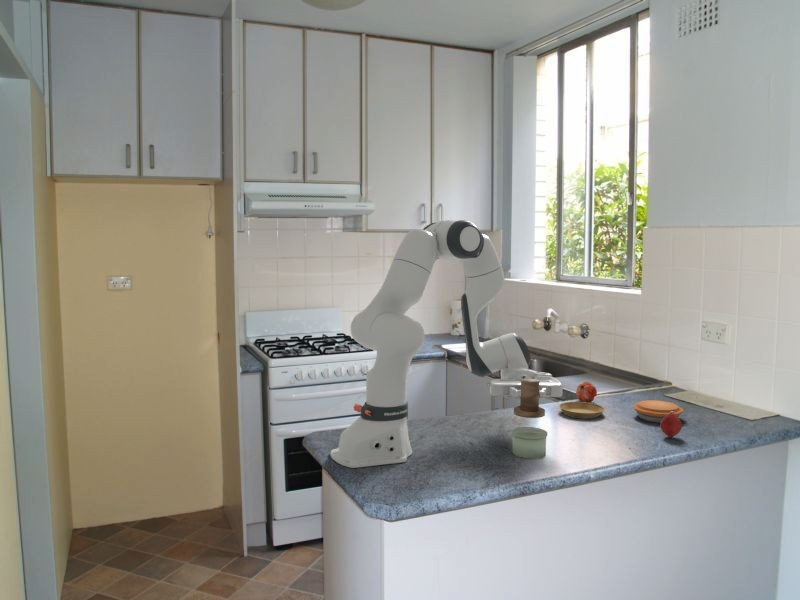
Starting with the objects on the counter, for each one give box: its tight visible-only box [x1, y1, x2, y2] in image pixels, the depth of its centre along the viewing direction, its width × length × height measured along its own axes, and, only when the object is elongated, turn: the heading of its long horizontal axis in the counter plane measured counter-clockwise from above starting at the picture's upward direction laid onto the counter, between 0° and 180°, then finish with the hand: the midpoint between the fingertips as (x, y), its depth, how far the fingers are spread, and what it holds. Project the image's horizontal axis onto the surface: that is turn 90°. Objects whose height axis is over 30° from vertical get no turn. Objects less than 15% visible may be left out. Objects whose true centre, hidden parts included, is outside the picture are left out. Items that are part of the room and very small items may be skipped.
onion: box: [659, 411, 683, 439], centre depth 200 cm, size 6×6×8 cm
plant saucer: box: [558, 401, 606, 419], centre depth 226 cm, size 15×15×3 cm
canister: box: [511, 426, 548, 460], centre depth 186 cm, size 10×10×6 cm
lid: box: [513, 379, 546, 419], centre depth 184 cm, size 8×8×9 cm
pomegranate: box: [575, 381, 598, 403], centre depth 242 cm, size 7×7×10 cm
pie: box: [632, 399, 684, 424], centre depth 221 cm, size 16×16×5 cm
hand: (530, 394), depth 183 cm, fingers closed on lid, 5 cm apart
